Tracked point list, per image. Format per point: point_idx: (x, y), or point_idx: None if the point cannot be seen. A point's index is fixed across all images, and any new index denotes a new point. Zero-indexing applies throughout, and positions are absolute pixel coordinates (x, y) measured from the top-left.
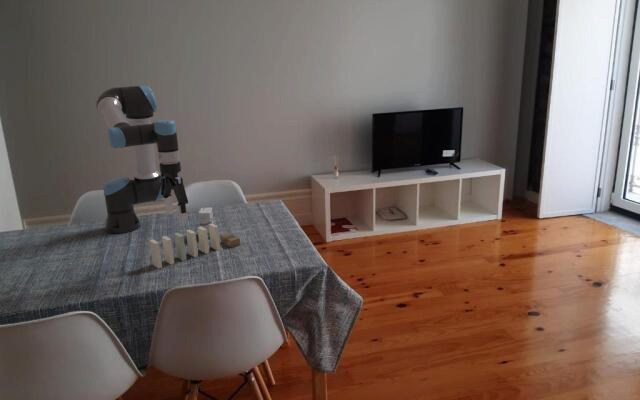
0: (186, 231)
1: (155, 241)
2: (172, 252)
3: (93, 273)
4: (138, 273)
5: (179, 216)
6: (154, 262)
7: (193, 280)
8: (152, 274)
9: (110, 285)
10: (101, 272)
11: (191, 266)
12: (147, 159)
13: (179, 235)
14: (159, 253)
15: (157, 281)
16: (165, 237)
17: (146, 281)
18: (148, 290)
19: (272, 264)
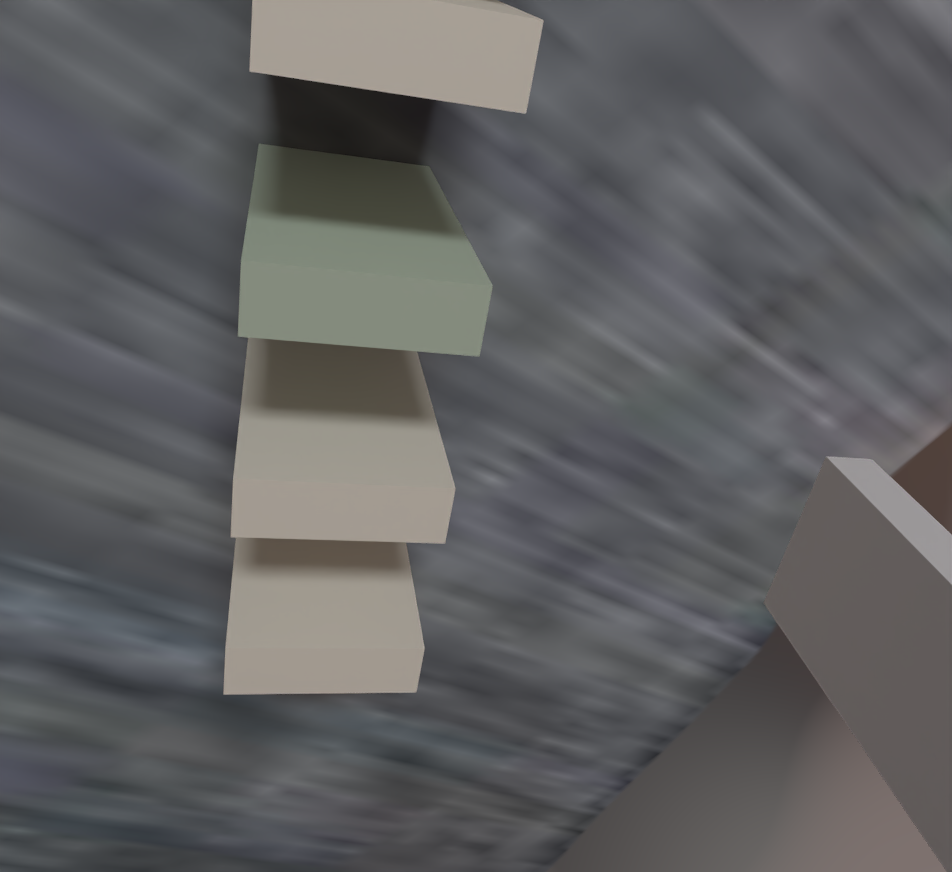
0: (271, 71)
1: (343, 659)
2: (423, 389)
3: (32, 844)
4: None
5: (843, 702)
6: None
7: (888, 400)
8: (465, 567)
9: (378, 810)
10: (60, 805)
11: (642, 242)
12: None
13: (414, 323)
14: (405, 553)
15: (624, 590)
16: (301, 511)
17: (546, 642)
18: (690, 678)
19: None
